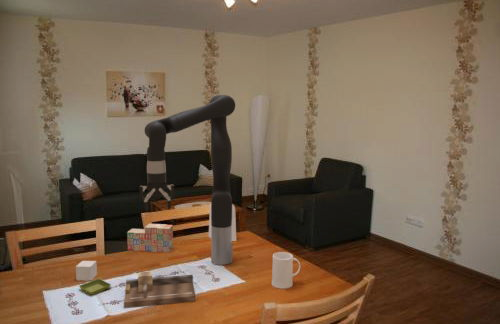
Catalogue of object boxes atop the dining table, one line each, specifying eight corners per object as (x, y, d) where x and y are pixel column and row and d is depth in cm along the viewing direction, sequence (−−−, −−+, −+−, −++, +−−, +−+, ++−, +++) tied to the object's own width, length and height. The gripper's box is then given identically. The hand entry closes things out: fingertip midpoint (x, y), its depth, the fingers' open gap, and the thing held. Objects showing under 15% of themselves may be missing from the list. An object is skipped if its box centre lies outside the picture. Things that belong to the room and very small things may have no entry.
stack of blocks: (127, 250, 195) (126, 226, 193) (132, 246, 201) (131, 222, 199) (169, 252, 193) (169, 228, 191) (173, 248, 199) (173, 224, 197)
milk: (208, 237, 216) (208, 190, 212) (228, 234, 220) (228, 188, 217) (215, 244, 205) (215, 194, 201) (236, 241, 209) (236, 193, 206)
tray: (192, 285, 158) (192, 274, 157) (195, 300, 146) (195, 289, 145) (126, 291, 153) (126, 279, 152) (123, 307, 140) (123, 295, 139)
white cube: (83, 274, 167) (82, 260, 167) (97, 274, 167) (96, 261, 166) (76, 280, 161) (75, 266, 161) (91, 280, 161) (90, 266, 160)
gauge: (152, 286, 152) (152, 271, 152) (152, 297, 144) (151, 281, 143) (139, 287, 151) (138, 272, 151) (137, 298, 143) (137, 282, 142)
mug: (297, 278, 165) (298, 251, 164) (303, 287, 157) (304, 258, 155) (269, 280, 164) (270, 252, 162) (273, 289, 155) (274, 260, 154)
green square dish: (99, 283, 160) (99, 278, 160) (111, 289, 155) (111, 284, 154) (78, 290, 153) (78, 285, 153) (91, 297, 148) (90, 292, 148)
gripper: (173, 169, 167) (174, 206, 170) (138, 170, 164) (140, 208, 166) (174, 172, 160) (175, 211, 163) (138, 173, 157) (139, 213, 159)
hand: (157, 209), depth 164 cm, fingers open, 8 cm apart
